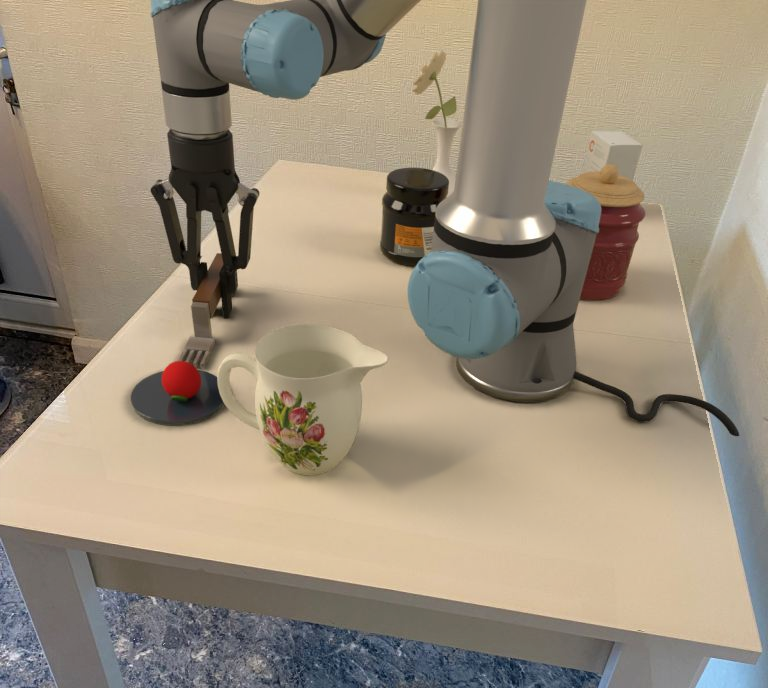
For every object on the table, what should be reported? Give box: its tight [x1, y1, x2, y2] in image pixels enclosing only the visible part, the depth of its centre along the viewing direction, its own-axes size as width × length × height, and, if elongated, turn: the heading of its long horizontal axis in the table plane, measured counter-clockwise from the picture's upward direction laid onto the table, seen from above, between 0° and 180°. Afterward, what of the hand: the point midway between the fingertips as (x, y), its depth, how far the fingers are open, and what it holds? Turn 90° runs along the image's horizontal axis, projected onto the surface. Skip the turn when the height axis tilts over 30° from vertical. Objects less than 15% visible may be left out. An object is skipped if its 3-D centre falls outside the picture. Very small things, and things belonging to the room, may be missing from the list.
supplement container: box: [379, 167, 449, 267], centre depth 116 cm, size 10×10×12 cm
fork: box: [177, 252, 235, 369], centre depth 98 cm, size 21×3×6 cm, turn 177°
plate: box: [130, 369, 225, 426], centre depth 87 cm, size 11×11×1 cm
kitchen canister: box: [565, 164, 646, 301], centre depth 110 cm, size 13×13×18 cm
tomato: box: [162, 360, 201, 402], centre depth 85 cm, size 4×4×4 cm
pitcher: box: [216, 323, 389, 476], centre depth 76 cm, size 11×18×14 cm, turn 75°
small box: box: [581, 130, 643, 181], centre depth 134 cm, size 8×6×13 cm
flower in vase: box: [412, 49, 462, 197], centre depth 127 cm, size 13×11×25 cm
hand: (217, 311), depth 102 cm, fingers open, 2 cm apart
